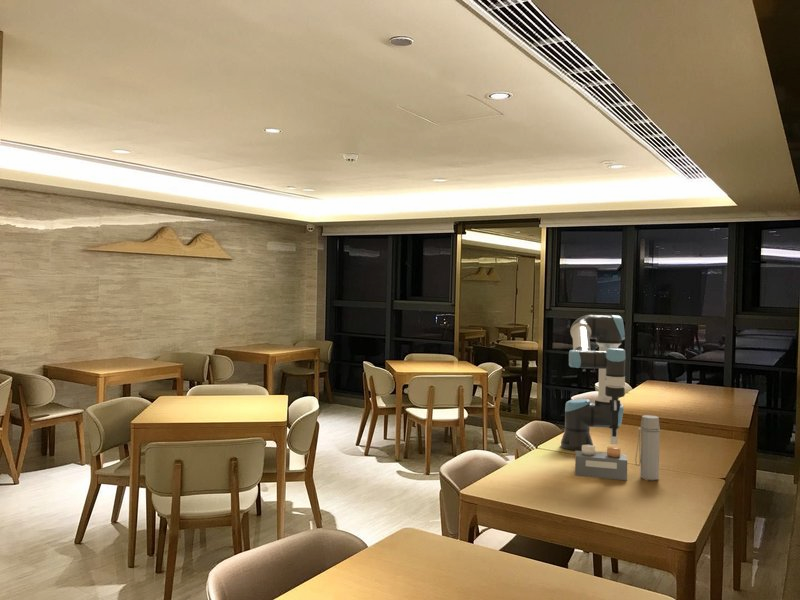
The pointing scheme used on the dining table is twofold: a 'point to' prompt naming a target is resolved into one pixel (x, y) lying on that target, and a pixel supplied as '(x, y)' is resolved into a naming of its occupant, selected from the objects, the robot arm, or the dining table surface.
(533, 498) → the dining table surface
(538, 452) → the dining table surface
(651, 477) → the water bottle
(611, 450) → the knob
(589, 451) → the knob
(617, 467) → the console
